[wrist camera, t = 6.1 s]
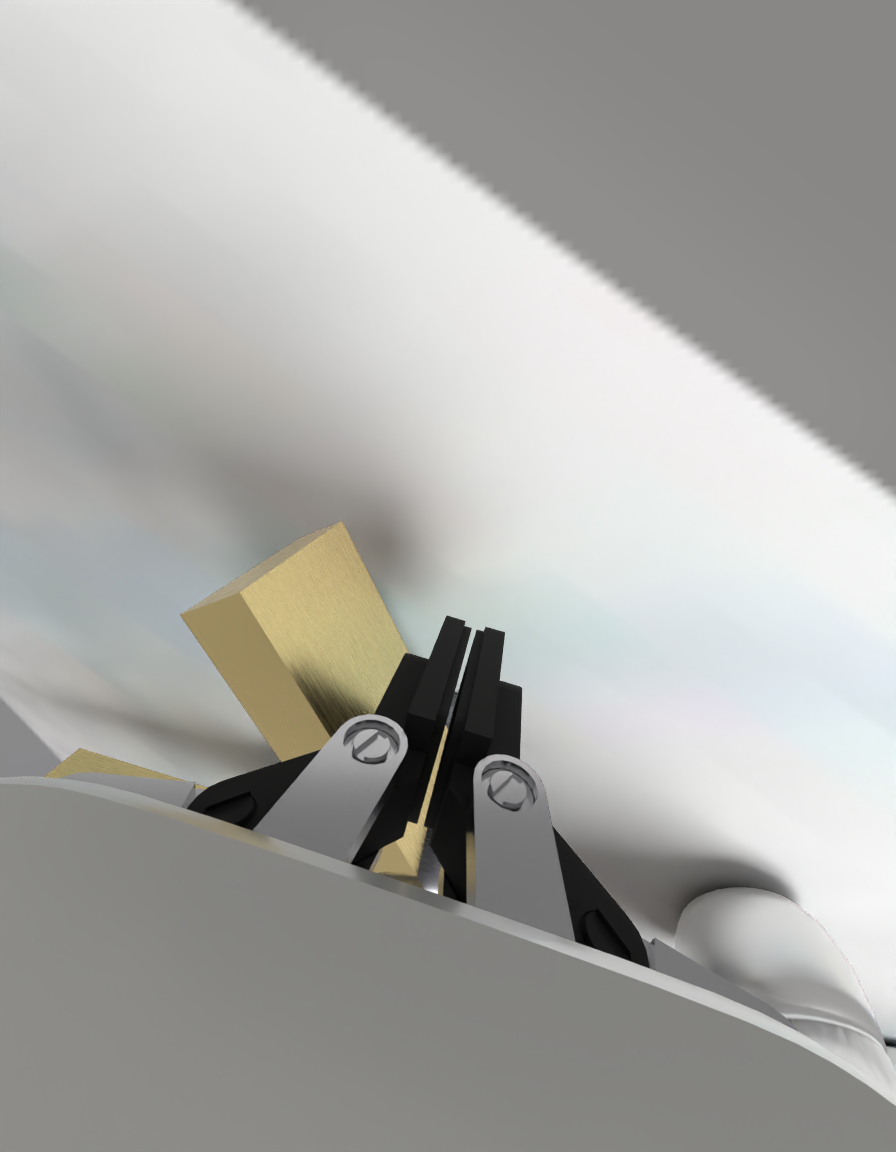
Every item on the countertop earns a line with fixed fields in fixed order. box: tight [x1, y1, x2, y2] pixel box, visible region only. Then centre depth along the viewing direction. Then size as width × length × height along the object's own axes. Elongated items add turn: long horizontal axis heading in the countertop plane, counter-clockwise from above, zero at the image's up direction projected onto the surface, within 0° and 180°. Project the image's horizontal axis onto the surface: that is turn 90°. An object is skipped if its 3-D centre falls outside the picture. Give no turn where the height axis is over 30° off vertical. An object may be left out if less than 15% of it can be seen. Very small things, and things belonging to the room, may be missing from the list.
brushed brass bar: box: [180, 521, 458, 894], centre depth 13 cm, size 11×3×8 cm, turn 23°
